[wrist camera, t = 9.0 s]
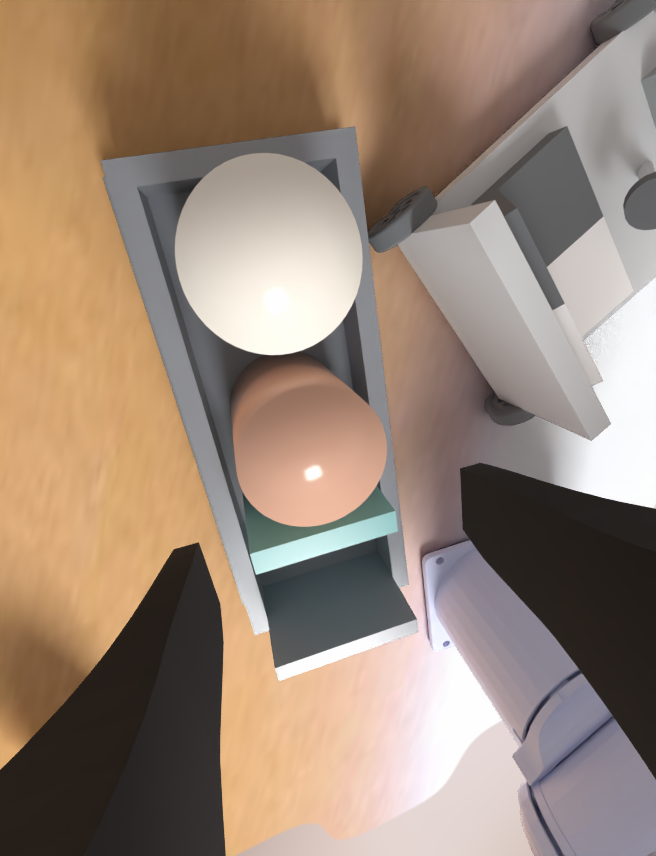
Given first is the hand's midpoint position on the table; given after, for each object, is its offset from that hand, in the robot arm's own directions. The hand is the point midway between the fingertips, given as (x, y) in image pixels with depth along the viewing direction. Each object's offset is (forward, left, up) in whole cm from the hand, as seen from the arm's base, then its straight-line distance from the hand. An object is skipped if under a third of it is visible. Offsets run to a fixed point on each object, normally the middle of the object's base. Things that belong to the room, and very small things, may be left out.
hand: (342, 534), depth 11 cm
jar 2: (0, -1, -9) cm, 9 cm away
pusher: (0, +3, -9) cm, 9 cm away
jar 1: (0, -7, -9) cm, 11 cm away
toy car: (-15, -7, -10) cm, 20 cm away
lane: (0, -1, -10) cm, 10 cm away
